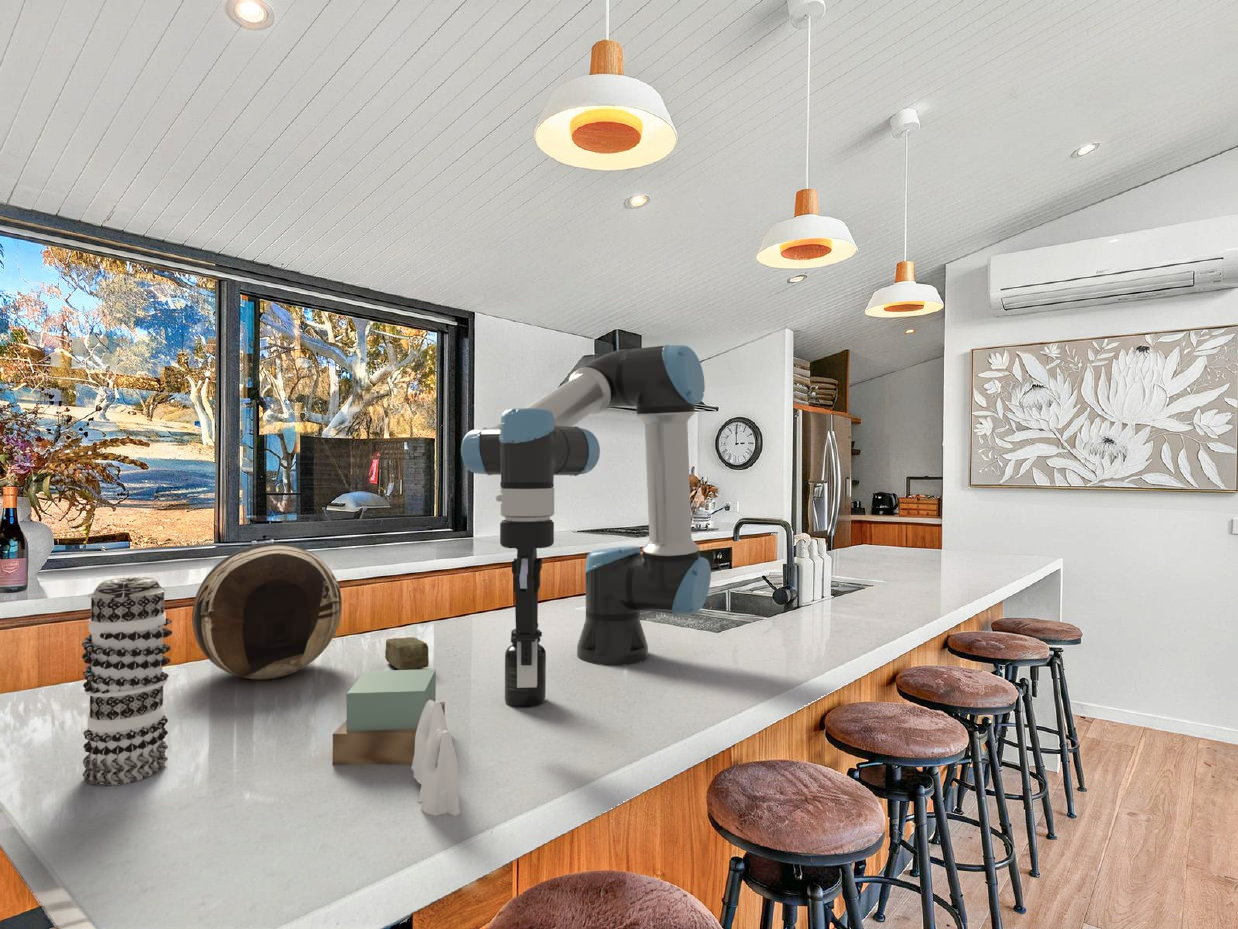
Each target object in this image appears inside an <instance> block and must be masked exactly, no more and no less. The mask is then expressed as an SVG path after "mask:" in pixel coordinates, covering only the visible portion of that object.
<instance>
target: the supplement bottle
mask: <svg viewBox="0 0 1238 929" xmlns="http://www.w3.org/2000/svg"><path fill="white" fill-rule="evenodd" d="M537 631H538V632H539V631H541V630H540V629H539V628H537ZM515 634H516V628H514V629H511V632H510V635H511V636H510V643H512V644H510V646H508V647H507V648H506V650H505V652H504V702H505V704H506V705H507V706H510V707H513V708H521V709H522V708H524V709H526V708H534V707H537V706H541V705H542V704H543V703H544V702H545V700H546V691H547V690H546V689H547V688H546V687H547V685H546V684H547V683H546V681H547V679H546V678H547V676H546V675H547V672H546V671H547V670H546V669H547V666H546V664H547V653H546V649H545V647H544V646H543V645H542V644H540V642H541V637H536V638H537V687H525V688H517V642H512V637H513V636H515Z"/></svg>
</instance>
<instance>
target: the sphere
mask: <svg viewBox="0 0 1238 929" xmlns="http://www.w3.org/2000/svg"><path fill="white" fill-rule="evenodd" d="M342 599H343V598H342V593H341V588H340V585H339V583H338V580H337V578H336V577H335V575H334V573H333V571H332V570H331V569H330V567H329V565H327V564H326V563H325V562H324V561H323V560H322V559H321V558H320V557H319V556H317V555H316V554H314V553H313V552H312V551H309V550H308V549H305V548H302V547H300V546H297V545H294V544H289V543H282V542H268V543H266V542H265V543H260V544H255V545H251V546H248V547H244V548H242V549H239V550H237V551H235V552H233V553H231V554H230V555H228V556H227V557H225V558H224V559H222V560H221V561H220V562H219V563H217V564H216V565H215V566H214V567H213V568H212V569H211V570H210V571H209V573H208V574H207V575H206V576H205V578H204V579H203V581H202V582H201V584H200V586H199V588H198V589H197V592H196V594H195V598H194V601H193V605H192V612H191V621H192V623H191V624H192V629H193V634H194V637H195V640H196V643H197V645H198V646H199V649H200V650H201V651H202V653H203V654H204V656H205V657H206V658H207V659H208V660H209V661H210V662H211V663H212V664H214V665H215V666H216V667H217V668H219V669H220V670H223V671H224V672H225V673H227V674H230V675H233V676H236V677H239V678H242V679H248V680H261V681H262V680H273V679H278V678H282V677H285V676H288V675H291V674H294V673H296V672H297V671H300V670H302V669H304V668H305V667H307V666H308V665H310V664H311V663H313V662H314V661H315V660H316V659H317V658H319V656H320V655H322V653H323V652H324V651H325V650H326V649H327V647H328V646H329V645H330V643H331V642H332V640H333V639H334V636H335V634H336V633H337V631H338V628H339V624H340V620H341V618H342V610H343V609H342V608H343V603H342V602H343V600H342Z"/></svg>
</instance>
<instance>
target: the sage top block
mask: <svg viewBox="0 0 1238 929" xmlns="http://www.w3.org/2000/svg"><path fill="white" fill-rule="evenodd" d="M436 674H437V669H436V668H431V669H430V668H429V669H428V668H427V669H424V668H421V669H412V670H400V669H397V670H395V669H394V670H393V669H391V670H389V669H386V670H385V669H384V670H365V671H364V672H363V674H361V676H360V677H359V678H358V679H357V681H356V682H355V683H354V684H353V685H352V686H351V687H350V689H349V690H348V691H347V692H346V718H345V721H346V731H372V730H399V729H417V727H418V724H419V720H420V717H421V715H422V712H423V710H424V707H425V705H426V703H427V702H428V701H429V700H433V701H434V702H435V701H437V698H436V695H437V694H436V691H437V690H436V689H437V684H436V683H437V679H436V678H437V676H436Z"/></svg>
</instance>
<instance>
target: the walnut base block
mask: <svg viewBox="0 0 1238 929" xmlns="http://www.w3.org/2000/svg"><path fill="white" fill-rule="evenodd" d="M439 702H440V703H441V706H442V709H443V712H444V716H446V715H445V714H446V713H445V712H446V709H445V707H446V702H445V701H439ZM416 731H417V729H399V730H372V731H346V720H344V722H342V724H341V725H340V726H339V727H338V728H337V729H336V730H335V731H334V732H333V733H332V765H333V766H335V765H340V766H341V765H343V766H345V765H347V766H351V765H355V766H357V765H358V766H359V765H360V766H361V765H362V766H364V765H365V766H366V765H373V766H374V765H375V766H376V765H378V766H380V765H385V766H386V765H388V766H389V765H395V766H396V765H397V766H398V765H399V766H401V765H406V766H407V765H411V766H412V763H413V758H414V752H415V736H416Z"/></svg>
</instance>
